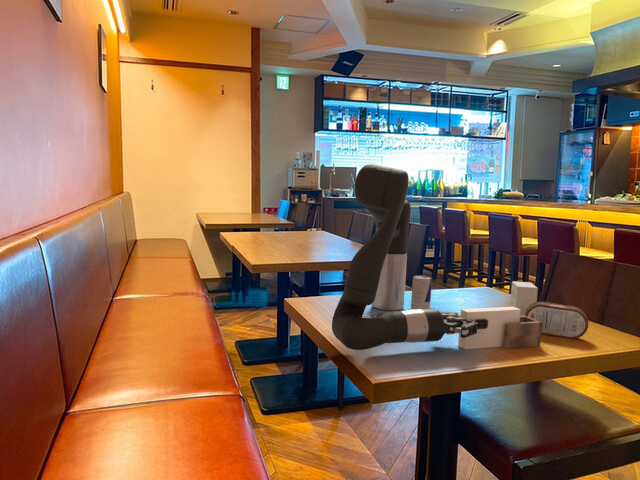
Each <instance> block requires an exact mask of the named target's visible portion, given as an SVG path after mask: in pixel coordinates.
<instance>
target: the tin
mask: <svg viewBox="0 0 640 480" xmlns="http://www.w3.org/2000/svg"><path fill="white" fill-rule="evenodd" d="M525 316H528V317H530V318H533V319H535V320H538V321H540V322H543V323H542V333H541V335H545V336H553V337H557V338H562V339H563V338H564V339H570V340H572V339H573V340H574V339H575V340H576V339H578V338H581V337H582V336H584V335H585V334H586V333H587V332H588V329H589V317H588V316H587V314H586V312H584V310H582V309H581V308H579V307H578V306H574V305H567V304H560V303H554V302H548V301H547V302H546V301H537V302H536V303H533V304H531V305H530V306H529V307H528V308H527V310H526V312H525Z"/></svg>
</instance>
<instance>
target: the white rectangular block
mask: <svg viewBox="0 0 640 480" xmlns="http://www.w3.org/2000/svg"><path fill="white" fill-rule="evenodd" d="M520 311H521V309H518V308H516V307H510V306H497V307H479V308H478V307H476V308H461V309H460V315H461V316H460V318H461V317H463V318H465V319H466V320H469V319H474V320H475V319H487V320H488V327H487V329H477V334H474V335H471V336H469V337H466V338H462V337H461V333H458V341H457V344H458V345H457V346H458V347H460V348H461V349H463V350H473V349H474V350H475V349H485V348H486V349H487V348H500V347H503V343H504V332H505V323H519V322H520ZM467 324H468V323H467Z"/></svg>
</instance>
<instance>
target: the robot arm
mask: <svg viewBox="0 0 640 480" xmlns="http://www.w3.org/2000/svg"><path fill="white" fill-rule="evenodd" d="M409 177H410V176H409V174H408V172H407V171H405V170H403V169H399V168H396V167H395V168H394V167H389V166H385V165H378V164H365V165H364V166H362V167H361V168H360V169H359V170H358V172H357V175H356V177H355V181H354V185H353V187H354V188H353V190H354V197H355V200H356V202H357V203H358V204H359V205H360V206H363V207H365V209H367V210H368V212H369V214H370V215H371V216H372V217H373V223H374V224H375V226H376V227H377V228H378V229H377V230H376V232H375V233H374V234H373V235H372V236H371V237H370V238H369V239H368V241H366V242H365V243H364V244H363V245H362V247H361V248H360V249H359V250H358V251H357V252H355V254H354V256H353V257H352V260H350V264H349V267H348V270H347V275H346V279H345V285H344V289H343V293H342V295H341V297H340V298H339V301H338V303H337V305H336V308H335V310H334V311H333V312H334V313H333V316H332V321H331V331H332V334H333V335H334V337H335V338H336V339H337V340H338V341H340V343H342V345H344V347H346V348H347V349H350V350H353V351H364V350H365V351H366V350H369V349H373V348H377V347H379V346H382V345H385V344H398V343H399V344H400V343H406V344H407V343H408V344H409V343H410V344H415V343H429V342H430V343H431V342H439V341H440V340H441V339H442V338H443V337H444V335H450V336H451V335H455V334H459V333H461V337H462V338H466V337H469V336H471V335H474V334H477V329H487V327H488V320H487V319H475V320H474V319H469V320H466V319H465V318H463V317H461V318H460V316H461V314H459V313H458V312H453V311H452V312H451V311H440V310H438V309H437V308H435V307H432V308H431V307H430V308H428V309H411V308H410V309H404V307H405V293H406V292H405V290H406V279H407V278H406V277H407V275H406V274H407V260H408V246H409V245H408V244H409V243H408V242H409V239H408V238H409V232H410V231H409V230H410V223H411V221H410V220H411V213H412V212H411V211H412V208H411V207H412V206H411V203H410V202H409V201H408V200H406V199H407V194H408V190H409V181H410V179H409ZM396 231H397V234H396V235H395V233H396ZM370 305H371V307H372V308H376V309H378V310H382V312H378V313H377V314H376V315H375V316H374V317H372V318H362V317H363V316H364V313H365V311H366V308H367V306H370ZM403 309H404V310H403ZM467 323H468V324H467Z"/></svg>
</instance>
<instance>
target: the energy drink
mask: <svg viewBox="0 0 640 480" xmlns="http://www.w3.org/2000/svg"><path fill="white" fill-rule="evenodd" d="M411 283H412V284H411V300H410V309H428V308H431V302H432V301H431V299H432V285H433V280H432V277H431V276H427V275H418V274H417V275H413V278H412V282H411Z"/></svg>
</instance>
